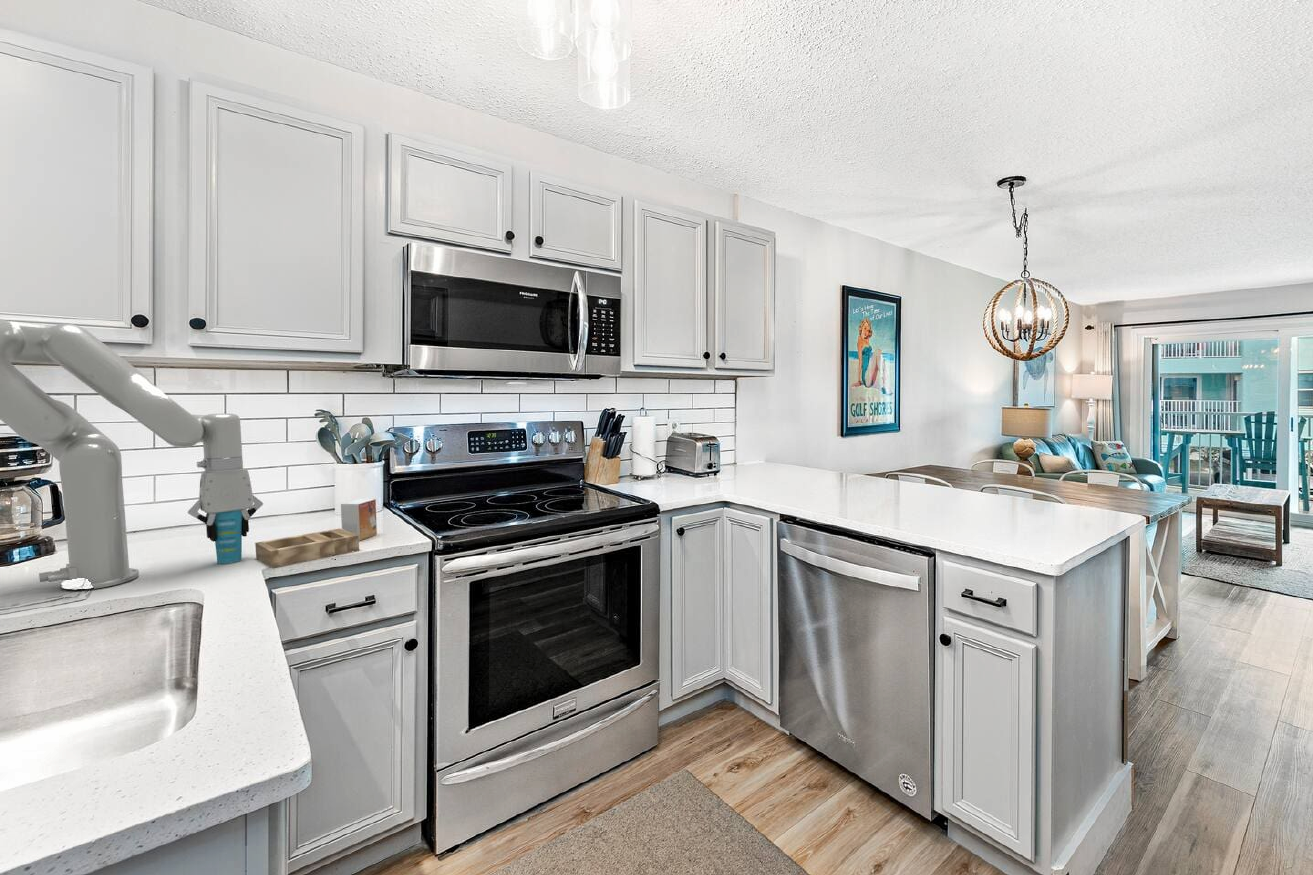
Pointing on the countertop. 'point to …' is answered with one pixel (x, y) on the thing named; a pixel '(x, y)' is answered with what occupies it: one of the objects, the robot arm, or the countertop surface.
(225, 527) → the tube
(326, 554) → the holder block
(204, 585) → the countertop surface
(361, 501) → the small box
